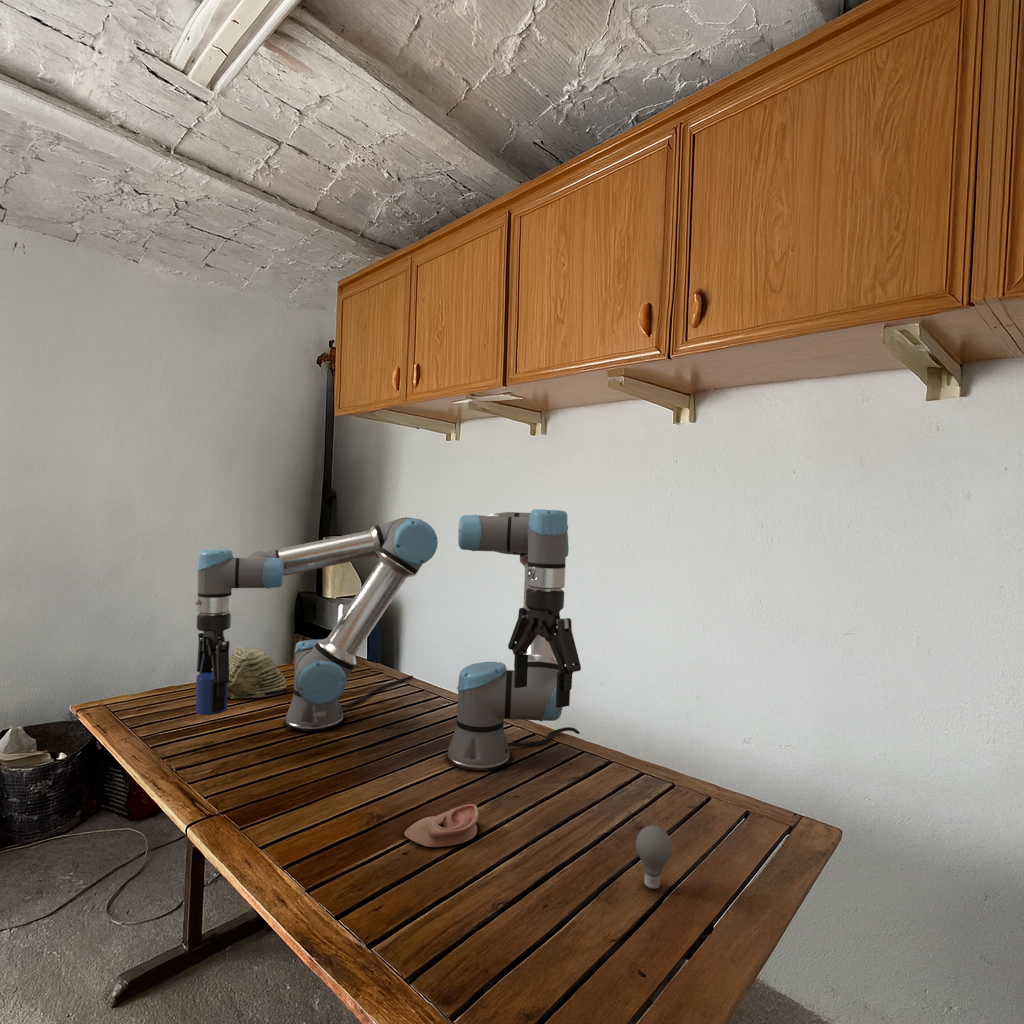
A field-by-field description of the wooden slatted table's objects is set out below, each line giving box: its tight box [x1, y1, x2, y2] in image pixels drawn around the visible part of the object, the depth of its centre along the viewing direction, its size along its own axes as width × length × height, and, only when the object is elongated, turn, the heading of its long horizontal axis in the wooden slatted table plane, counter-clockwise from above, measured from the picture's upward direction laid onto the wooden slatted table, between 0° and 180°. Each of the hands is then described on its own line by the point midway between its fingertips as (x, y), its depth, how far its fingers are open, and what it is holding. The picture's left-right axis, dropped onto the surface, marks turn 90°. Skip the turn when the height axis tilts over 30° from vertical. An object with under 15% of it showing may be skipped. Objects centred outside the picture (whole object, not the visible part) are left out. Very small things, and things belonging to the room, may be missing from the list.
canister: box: [195, 672, 228, 716], centre depth 155 cm, size 7×7×9 cm
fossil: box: [227, 646, 288, 699], centre depth 198 cm, size 9×18×15 cm, turn 132°
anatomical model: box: [404, 803, 479, 848], centre depth 121 cm, size 13×4×12 cm
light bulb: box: [635, 825, 673, 889], centre depth 107 cm, size 6×6×10 cm
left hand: (211, 706), depth 155 cm, fingers closed on canister, 7 cm apart
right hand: (540, 696), depth 124 cm, fingers open, 13 cm apart
